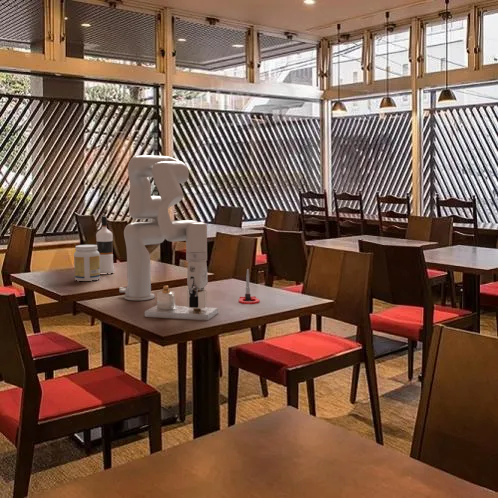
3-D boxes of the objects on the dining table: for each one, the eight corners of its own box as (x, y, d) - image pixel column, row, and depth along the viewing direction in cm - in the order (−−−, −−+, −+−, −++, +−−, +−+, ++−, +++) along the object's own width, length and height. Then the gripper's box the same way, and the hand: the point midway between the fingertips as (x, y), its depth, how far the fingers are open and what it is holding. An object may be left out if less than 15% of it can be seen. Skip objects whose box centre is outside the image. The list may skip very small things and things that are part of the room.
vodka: (100, 275, 322) (99, 216, 319) (93, 273, 330) (91, 215, 326) (117, 273, 328) (116, 216, 324) (109, 271, 335) (108, 215, 332)
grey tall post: (260, 304, 252) (257, 299, 261) (261, 273, 250) (257, 268, 259) (240, 305, 251) (237, 299, 260) (240, 273, 249) (237, 269, 258)
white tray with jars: (144, 316, 229) (144, 288, 227) (157, 309, 240) (156, 282, 239) (208, 320, 223) (207, 291, 222) (217, 313, 235) (217, 285, 233)
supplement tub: (99, 277, 316) (98, 244, 314) (101, 281, 304) (100, 246, 302) (73, 278, 312) (72, 244, 310) (75, 282, 301) (74, 247, 299)
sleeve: (185, 308, 227) (185, 291, 227) (191, 304, 234) (191, 288, 233) (203, 309, 226) (202, 292, 225) (208, 305, 232) (208, 289, 232)
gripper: (199, 259, 218) (199, 310, 221) (213, 253, 235) (213, 301, 237) (178, 259, 220) (179, 309, 222) (194, 253, 237) (194, 300, 239)
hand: (197, 304), depth 230 cm, fingers closed on sleeve, 6 cm apart
